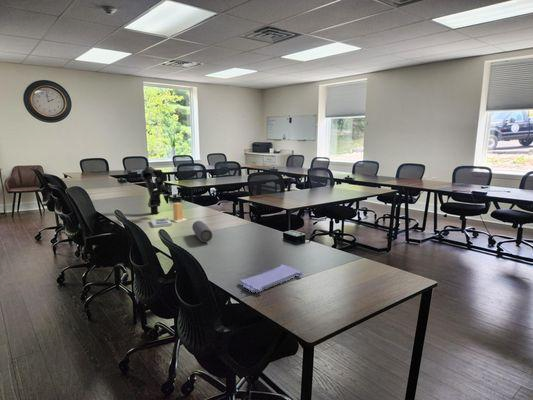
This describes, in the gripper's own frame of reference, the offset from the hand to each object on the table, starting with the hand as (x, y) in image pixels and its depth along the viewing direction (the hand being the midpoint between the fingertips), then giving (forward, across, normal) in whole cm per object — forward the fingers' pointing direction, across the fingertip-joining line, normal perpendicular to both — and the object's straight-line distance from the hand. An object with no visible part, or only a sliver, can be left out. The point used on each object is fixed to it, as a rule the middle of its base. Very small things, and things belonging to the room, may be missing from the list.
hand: (163, 203), depth 265 cm
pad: (+16, +3, -8) cm, 18 cm away
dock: (+17, -11, -2) cm, 20 cm away
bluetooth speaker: (+38, -29, -46) cm, 66 cm away
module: (+16, +2, -8) cm, 18 cm away
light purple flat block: (+69, -70, -102) cm, 142 cm away
